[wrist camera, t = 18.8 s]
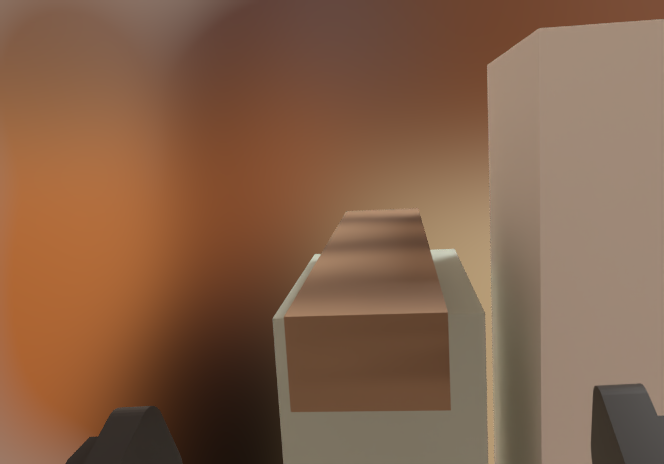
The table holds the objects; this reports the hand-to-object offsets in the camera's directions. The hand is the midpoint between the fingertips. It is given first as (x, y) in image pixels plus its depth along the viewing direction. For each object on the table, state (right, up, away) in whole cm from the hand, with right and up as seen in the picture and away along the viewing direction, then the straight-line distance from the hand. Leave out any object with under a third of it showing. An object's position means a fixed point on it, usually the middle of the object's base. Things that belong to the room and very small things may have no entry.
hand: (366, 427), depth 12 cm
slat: (+1, +1, +14) cm, 14 cm away
